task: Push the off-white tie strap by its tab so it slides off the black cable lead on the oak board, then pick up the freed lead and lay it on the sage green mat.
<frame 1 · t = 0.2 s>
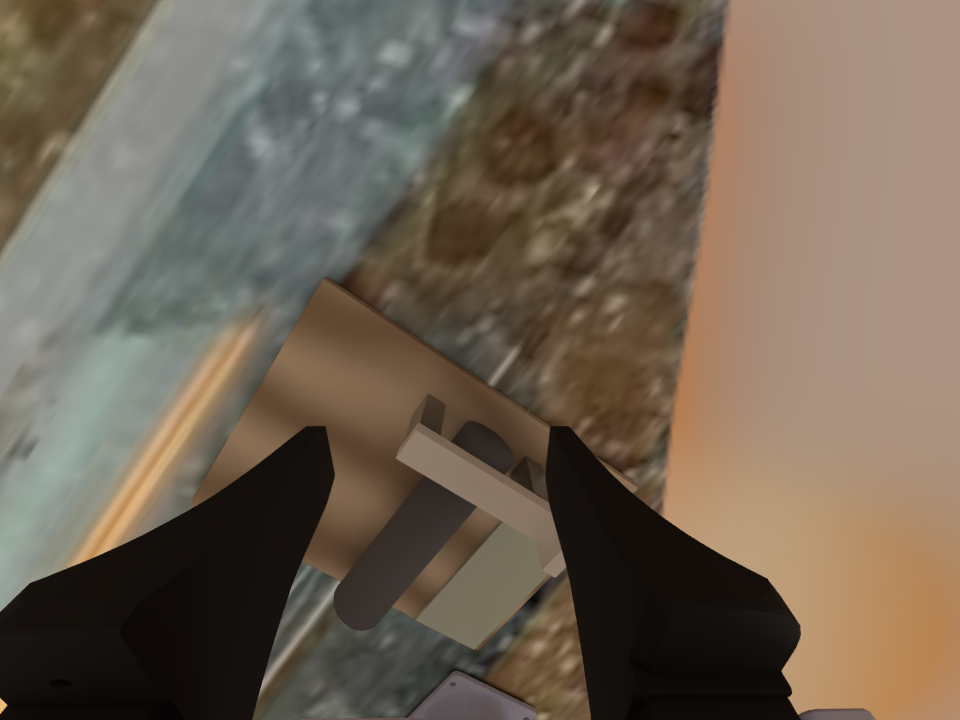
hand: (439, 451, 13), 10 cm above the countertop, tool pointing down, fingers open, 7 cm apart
lead: (423, 509, 25), point 1 cm above the countertop, touching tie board
tie strap: (486, 499, 19), point 6 cm above the countertop, slide at 0.0 cm
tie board: (415, 490, 26), on the countertop
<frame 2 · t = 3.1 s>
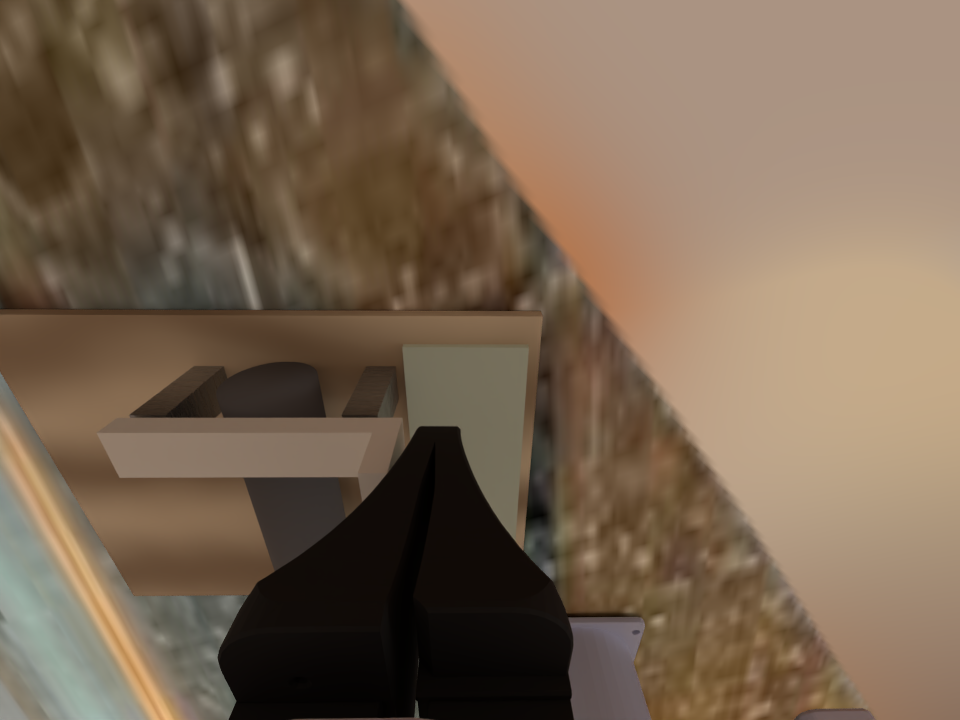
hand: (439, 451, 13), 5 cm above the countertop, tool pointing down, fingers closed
lead: (322, 490, 20), point 1 cm above the countertop, tilted 9°, touching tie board
tie strap: (247, 466, 12), point 6 cm above the countertop, slide at 0.0 cm, touching gripper
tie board: (304, 473, 20), on the countertop
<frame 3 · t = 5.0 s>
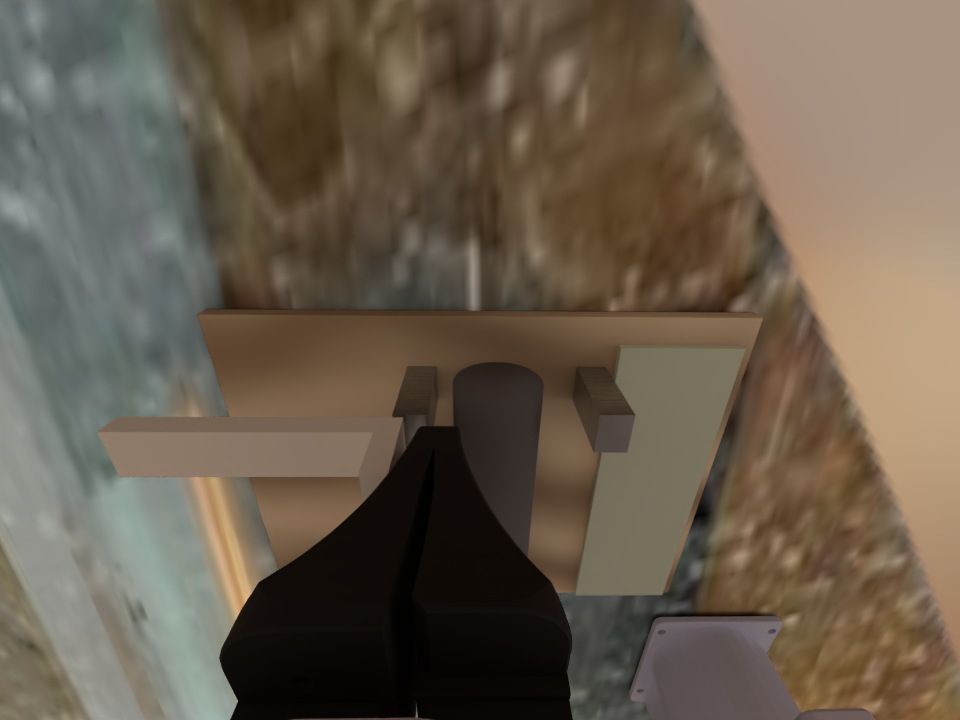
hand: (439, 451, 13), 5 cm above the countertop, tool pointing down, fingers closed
lead: (501, 490, 20), point 1 cm above the countertop, tilted 16°, touching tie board
tie strap: (248, 466, 12), point 6 cm above the countertop, slide at 8.7 cm, touching gripper
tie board: (480, 473, 20), on the countertop
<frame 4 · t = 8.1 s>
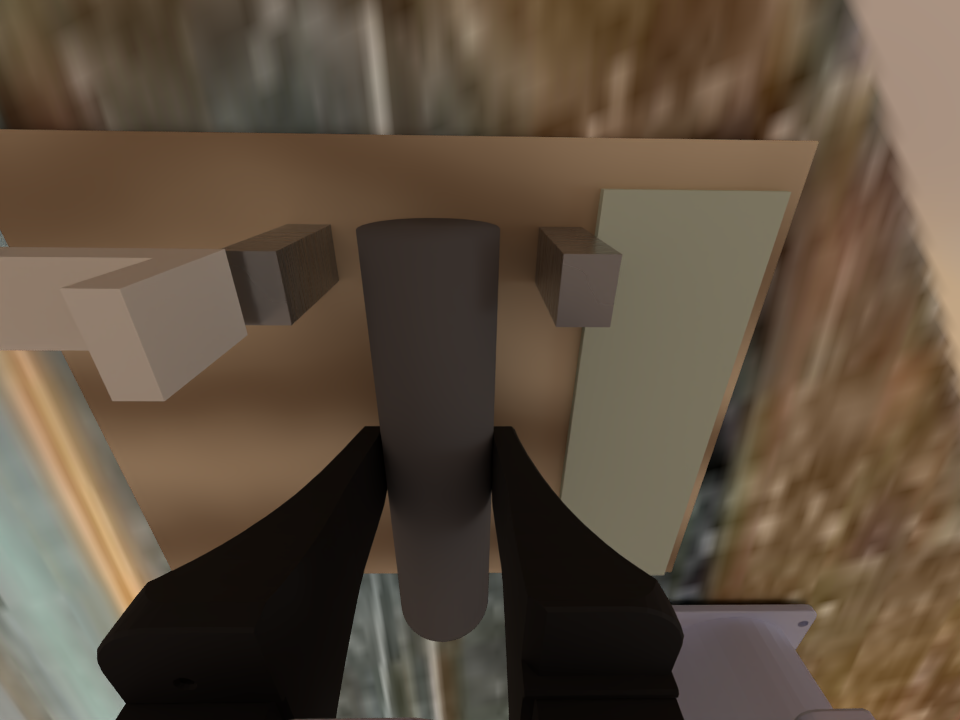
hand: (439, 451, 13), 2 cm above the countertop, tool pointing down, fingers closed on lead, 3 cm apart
lead: (442, 425, 14), point 1 cm above the countertop, touching gripper, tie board
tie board: (415, 404, 15), on the countertop
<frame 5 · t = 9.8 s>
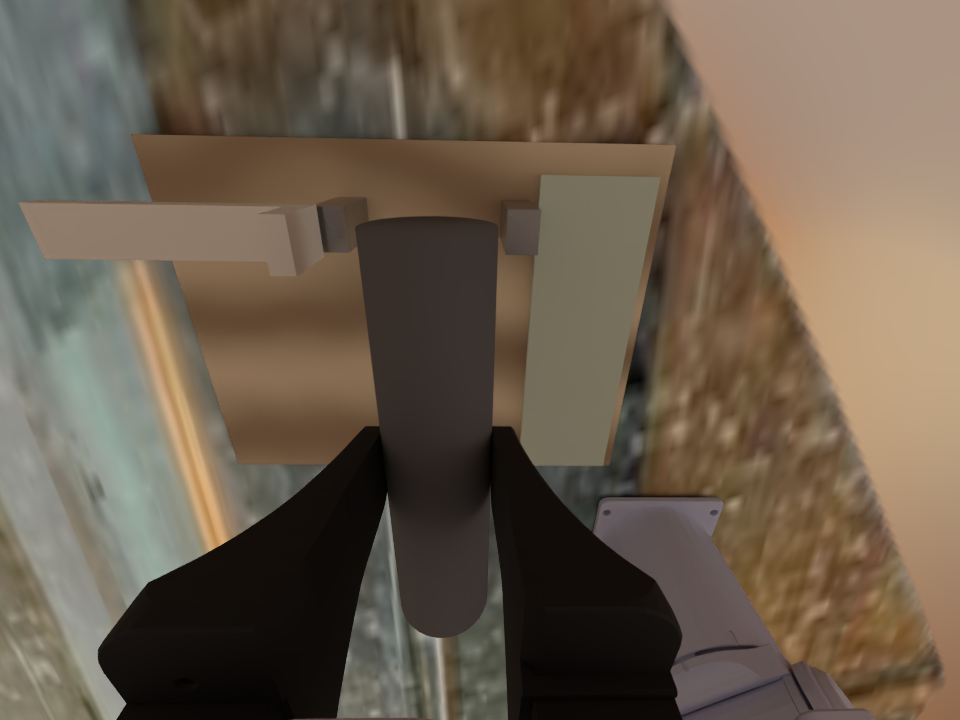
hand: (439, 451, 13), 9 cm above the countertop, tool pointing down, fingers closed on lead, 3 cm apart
lead: (439, 422, 14), point 7 cm above the countertop, touching gripper
tie strap: (162, 236, 13), point 6 cm above the countertop, slide at 8.7 cm
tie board: (419, 328, 21), on the countertop
when the fingers open (4 cm above the countertop, at t = 11.5 s): lead drops 1 cm, resting on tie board.
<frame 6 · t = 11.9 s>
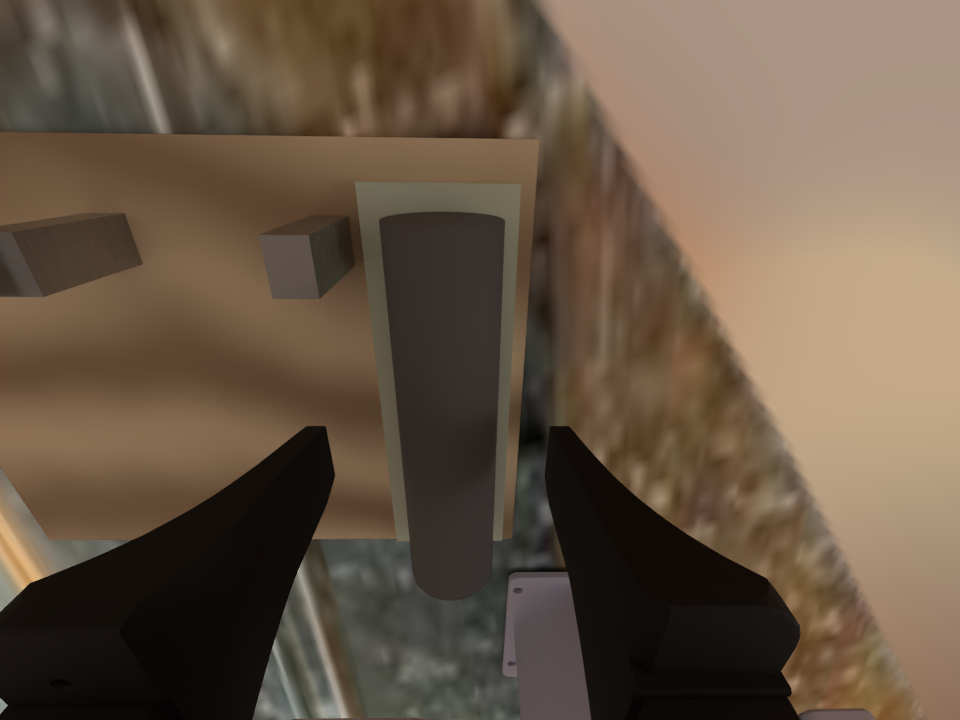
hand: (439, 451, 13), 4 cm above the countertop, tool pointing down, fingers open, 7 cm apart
lead: (440, 402, 16), point 1 cm above the countertop, tilted 13°, touching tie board
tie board: (245, 378, 16), on the countertop
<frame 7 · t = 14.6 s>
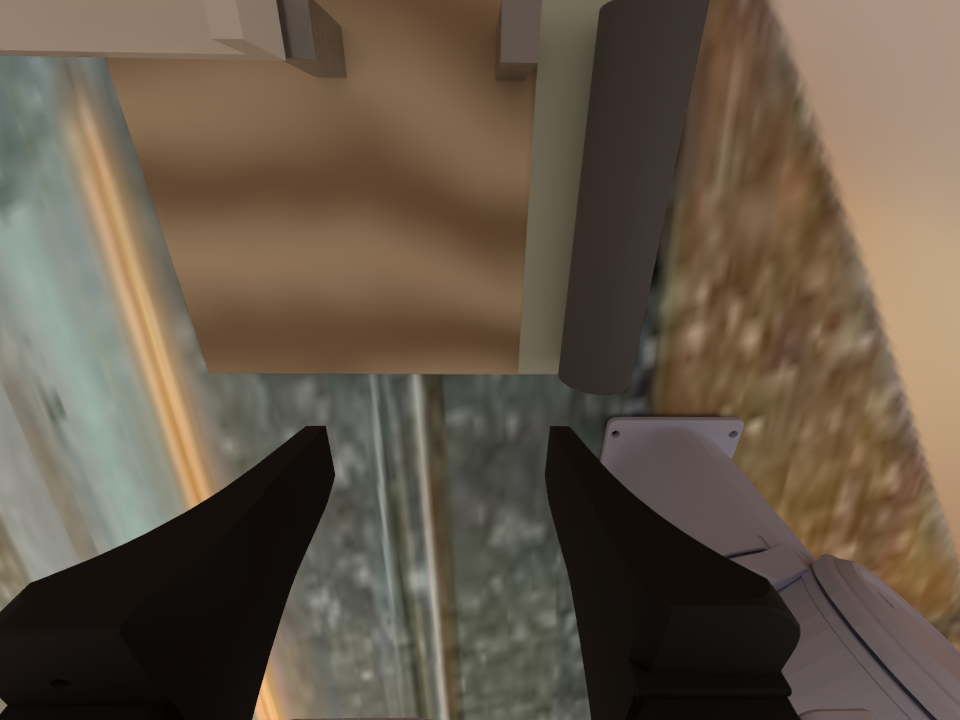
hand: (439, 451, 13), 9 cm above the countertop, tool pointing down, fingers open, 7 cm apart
lead: (583, 222, 18), point 1 cm above the countertop, tilted 38°, touching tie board
tie strap: (85, 6, 11), point 6 cm above the countertop, slide at 8.7 cm
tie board: (406, 204, 19), on the countertop
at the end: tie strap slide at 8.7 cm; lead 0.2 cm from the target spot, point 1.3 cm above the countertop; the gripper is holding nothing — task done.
